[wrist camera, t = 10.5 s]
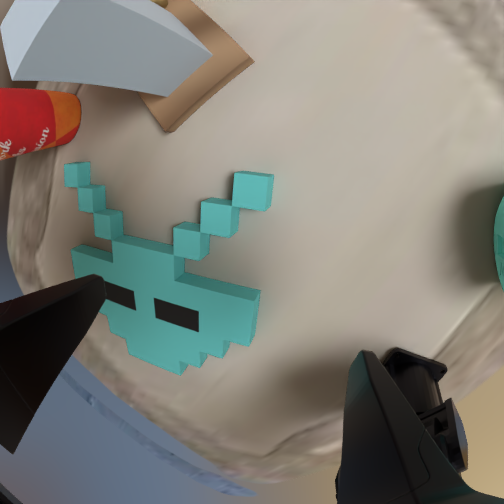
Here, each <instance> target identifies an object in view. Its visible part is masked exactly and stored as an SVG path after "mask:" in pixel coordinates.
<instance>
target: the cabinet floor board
mask: <svg viewBox="0 0 504 504" xmlns="http://www.w3.org/2000/svg"><path fill="white" fill-rule="evenodd" d="M150 1H152V2H154V3H155V4H157V5H159V6H160V7H162V8H164V9H166V10H167V11H169V12H170V13H172V14H173V15H174V16H175V17H176V18H177V19H178V20H179V21H180V22H181V23H182V24H183V25H184V26H185V27H186V28H187V29H188V30H189V31H190V32H191V33H192V34H193V35H194V36H195V37H196V38H197V39H198V40H199V41H200V42H201V43H202V44H203V45H204V46H205V47H206V48H207V49H208V50H209V51H210V52H211V53H212V54H213V56H212V57H211V58H209V59H208V60H207V61H206V62H205V63H204V64H202V65H201V66H200V67H199V68H198V69H197V70H196V71H195V72H193V73H192V74H191V75H190V76H189V77H188V78H187V79H186V80H185V81H184V82H183V83H182V84H181V85H179V86H178V87H177V88H176V89H175V90H174V91H173V92H172V93H171V94H170V95H169V96H168V97H165V96H160V95H155V94H150V93H145V92H140V91H136V92H137V93H138V94H139V96H140V97H141V99H142V100H143V101H144V103H145V104H146V106H147V107H148V108H149V110H150V111H151V112H152V114H153V115H154V117H155V118H156V119H157V121H158V122H159V124H160V125H161V126H162V128H163V129H164V130H165V131H168V132H174V131H175V130H176V129H177V128H178V127H179V126H180V125H181V124H182V123H183V122H184V121H185V120H186V119H187V118H189V117H190V116H191V115H192V114H193V113H194V112H195V111H196V110H197V109H198V108H199V107H200V106H202V105H203V104H204V103H205V102H206V101H207V100H208V99H209V98H211V97H212V96H213V95H214V94H215V93H216V92H218V91H219V90H220V89H221V88H222V87H223V86H225V85H226V84H227V83H228V82H230V81H231V80H232V79H233V78H234V77H236V76H237V75H238V74H240V73H241V72H242V71H243V70H245V69H246V68H247V67H249V66H250V65H251V64H252V63H254V61H253V59H252V58H251V57H250V56H249V55H248V54H247V53H246V52H245V51H244V50H243V49H242V48H241V47H240V46H239V45H238V44H237V43H236V42H235V41H234V40H233V39H232V38H231V37H230V36H229V35H228V34H227V33H226V32H225V31H224V30H223V29H222V28H221V27H220V26H219V25H218V24H216V23H215V22H214V21H213V20H212V19H211V18H210V17H209V16H208V15H207V14H206V13H204V12H203V11H202V10H201V9H200V8H199V7H198V6H196V5H195V4H194V3H193V2H192V1H190V0H150Z"/></svg>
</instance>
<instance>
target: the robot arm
mask: <svg viewBox="0 0 504 504" xmlns="http://www.w3.org/2000/svg"><path fill="white" fill-rule="evenodd" d="M105 300H106V289H105V283H104V279H103V277H102V276H99V275H97V274H90V275H87V276H84V277H80V278H77V279H74V280H71V281H68V282H64V283H61V284H58V285H55V286H52V287H49V288H45V289H42V290H39V291H36V292H33V293H30V294H27V295H24V296H21V297H18V298H15V299H13V300H9V301H6V302H3V303H0V444H1V445H2V446H3V447H4V448H5V449H6V450H8V451H9V452H10V453H11V454H14V452H15V450H16V448H17V446H18V444H19V443H20V441H21V439H22V437H23V435H24V433H25V431H26V429H27V427H28V426H29V424H30V422H31V420H32V418H33V417H34V414H35V413H36V411H37V409H38V408H39V406H40V404H41V403H42V401H43V399H44V397H45V396H46V394H47V392H48V391H49V389H50V387H51V386H52V384H53V383H54V381H55V380H56V378H57V376H58V375H59V373H60V372H61V370H62V369H63V367H64V366H65V364H66V363H67V361H68V360H69V358H70V357H71V355H72V354H73V352H74V351H75V349H76V348H77V346H78V345H79V343H80V342H81V340H82V339H83V338H84V336H85V335H86V333H87V331H88V330H89V328H90V326H91V325H92V323H93V321H94V319H95V318H96V316H97V314H98V312H99V311H100V309H101V307H102V306H103V304H104V302H105ZM396 354H398V355H396ZM441 370H442V371H441ZM446 372H447V367H446V365H444V364H441V363H438V362H435V361H433V360H430V359H427V358H424V357H421V356H419V355H416V354H413V353H410V352H407V351H405V350H402V349H398V348H397V349H394V350H393V351H392V352H391V353H390V355H389V356H388V357H387V359H386V360H385V361H384V362H383V364H381V362H380V361H379V359H378V358H377V357H376V355H375V354H374V353H373V352H372V351H367V350H361V351H360V352H359V353H358V355H357V357H356V358H355V360H354V362H353V363H352V365H351V367H350V370H349V376H348V385H347V392H346V400H345V407H344V420H343V443H342V458H341V466H340V468H339V470H338V473H337V476H336V479H335V484H336V493H337V494H336V499H337V504H504V499H503V498H499V497H495V496H491V495H487V494H484V493H480V492H477V491H475V490H473V489H472V488H470V487H469V486H468V485H467V484H466V483H465V482H464V480H463V479H462V477H461V472H463V471H465V470H467V469H468V444H467V439H466V435H465V431H464V427H463V423H462V420H461V418H460V416H459V414H458V411H457V409H456V407H455V405H454V402H453V400H452V398H449V399H447V400H446V401H445V402H444V403H443V401H442V397H441V393H440V389H439V385H438V382H439V380H440V379H441V378H442V377H443V376H444V375H445V374H446ZM0 504H23V503H21V502H20V501H19V500H18V499H17V498H16V497H15V496H14V495H13V494H12V493H10V492H9V491H8V490H7V489H6V488H5V487H4V486H3V485H2V484H1V483H0Z"/></svg>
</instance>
